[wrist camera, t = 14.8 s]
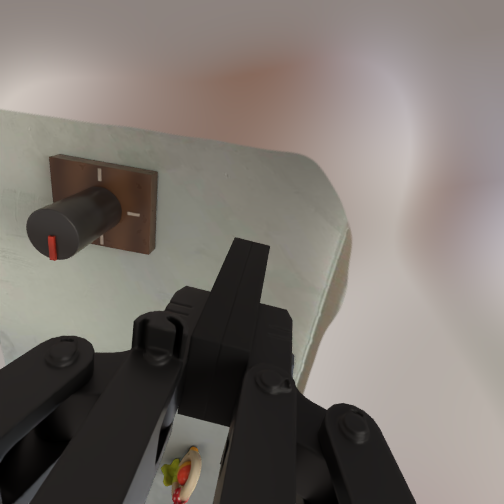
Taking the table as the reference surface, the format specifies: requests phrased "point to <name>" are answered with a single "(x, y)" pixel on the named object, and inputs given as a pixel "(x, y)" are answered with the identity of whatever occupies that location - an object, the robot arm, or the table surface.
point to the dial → (73, 222)
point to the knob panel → (123, 187)
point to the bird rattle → (183, 475)
